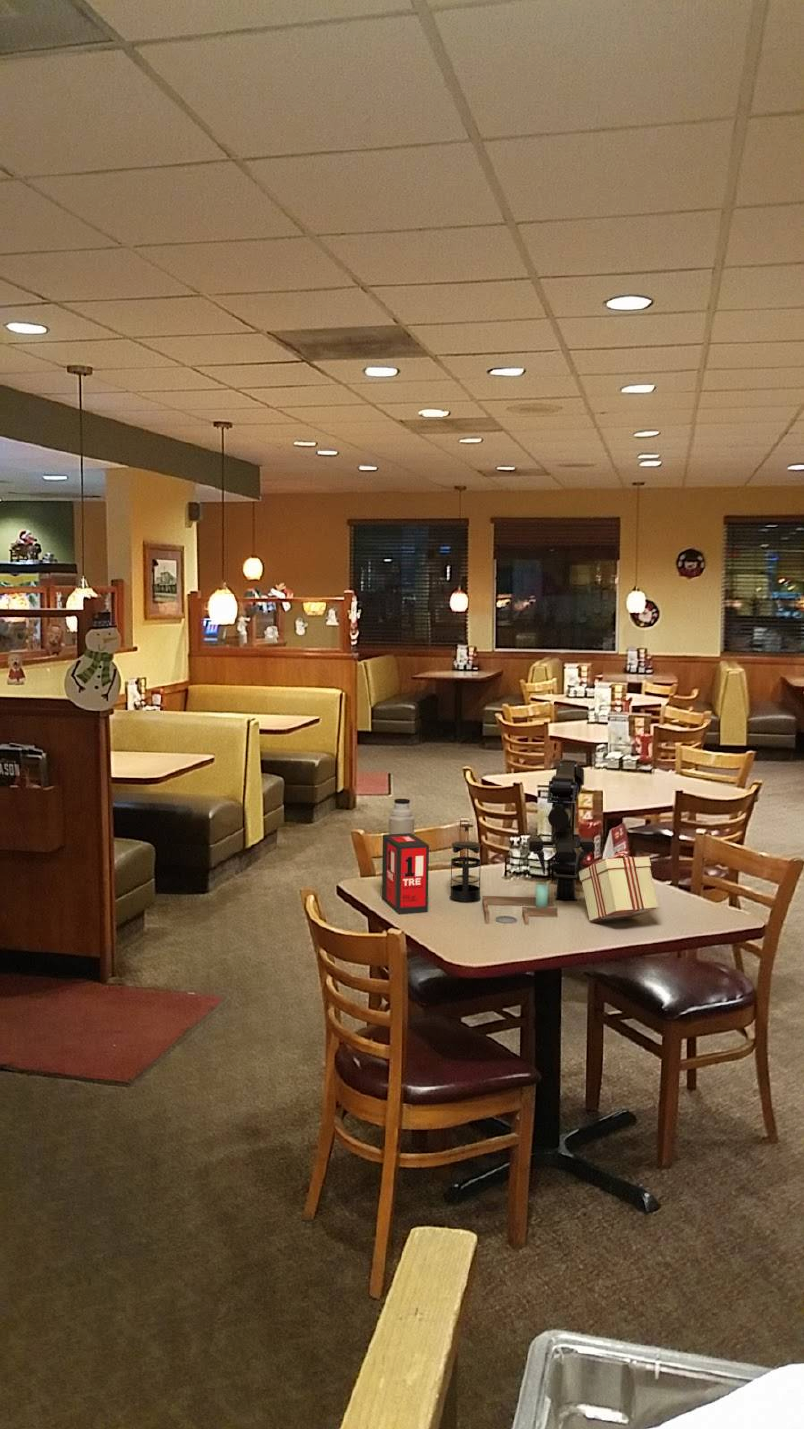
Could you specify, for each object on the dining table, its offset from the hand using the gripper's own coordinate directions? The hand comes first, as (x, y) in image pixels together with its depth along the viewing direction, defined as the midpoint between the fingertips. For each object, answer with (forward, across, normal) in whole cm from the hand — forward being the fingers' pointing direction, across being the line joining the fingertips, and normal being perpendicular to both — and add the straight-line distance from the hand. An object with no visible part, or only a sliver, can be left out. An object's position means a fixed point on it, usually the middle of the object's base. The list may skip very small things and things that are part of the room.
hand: (560, 873), depth 316 cm
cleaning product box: (+13, -45, +10) cm, 47 cm away
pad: (+13, -16, -4) cm, 20 cm away
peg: (+13, -4, +6) cm, 15 cm away
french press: (+13, -26, +18) cm, 35 cm away
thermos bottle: (+13, -46, +31) cm, 57 cm away
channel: (+13, -11, +2) cm, 17 cm away
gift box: (+10, +18, -7) cm, 22 cm away
